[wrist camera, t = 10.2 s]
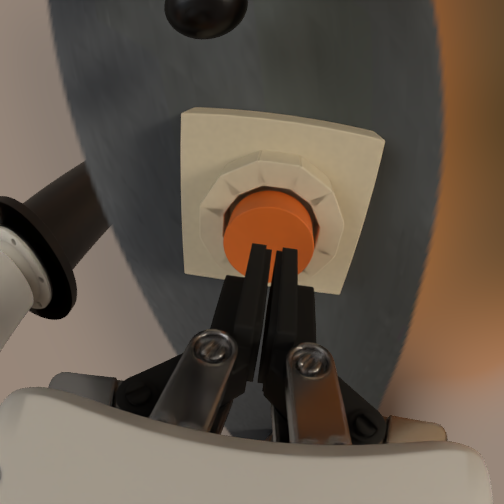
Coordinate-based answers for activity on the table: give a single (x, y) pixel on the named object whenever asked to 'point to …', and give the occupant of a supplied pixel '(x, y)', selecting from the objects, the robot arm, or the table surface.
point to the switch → (205, 16)
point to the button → (268, 229)
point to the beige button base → (275, 184)
